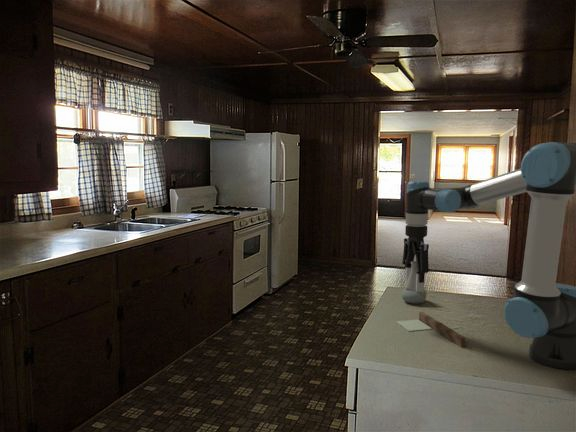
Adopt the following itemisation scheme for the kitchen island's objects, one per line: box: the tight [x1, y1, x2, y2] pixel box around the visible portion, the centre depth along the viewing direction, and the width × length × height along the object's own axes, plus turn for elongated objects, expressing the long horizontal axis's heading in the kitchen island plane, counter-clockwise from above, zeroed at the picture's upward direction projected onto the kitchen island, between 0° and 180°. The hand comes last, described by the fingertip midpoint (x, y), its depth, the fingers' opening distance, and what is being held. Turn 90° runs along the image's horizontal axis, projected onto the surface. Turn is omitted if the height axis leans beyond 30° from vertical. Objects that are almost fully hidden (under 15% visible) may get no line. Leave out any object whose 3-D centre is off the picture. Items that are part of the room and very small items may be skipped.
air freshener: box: [401, 288, 427, 305], centre depth 208 cm, size 11×8×10 cm
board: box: [395, 319, 432, 332], centre depth 179 cm, size 10×9×1 cm
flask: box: [403, 260, 426, 292], centre depth 177 cm, size 7×7×10 cm
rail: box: [418, 311, 466, 348], centre depth 172 cm, size 27×2×3 cm, turn 14°
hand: (414, 287), depth 178 cm, fingers closed on flask, 7 cm apart
